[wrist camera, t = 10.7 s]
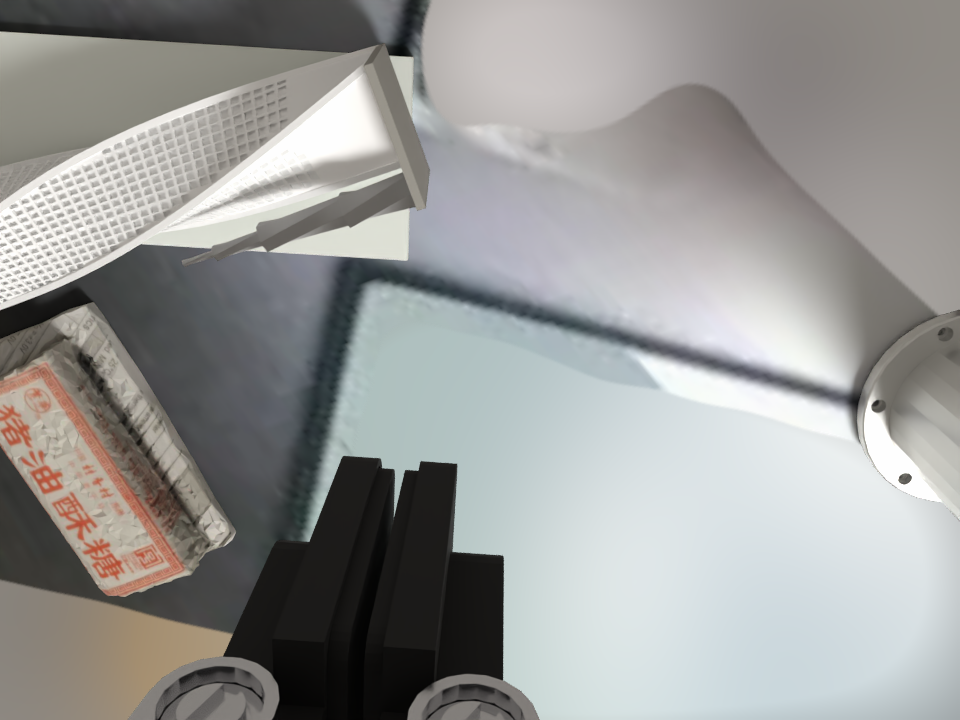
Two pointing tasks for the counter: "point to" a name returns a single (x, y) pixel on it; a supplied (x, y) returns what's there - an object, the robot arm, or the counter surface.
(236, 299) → the counter surface
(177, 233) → the mat
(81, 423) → the packaged product
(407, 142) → the twisted tower model
